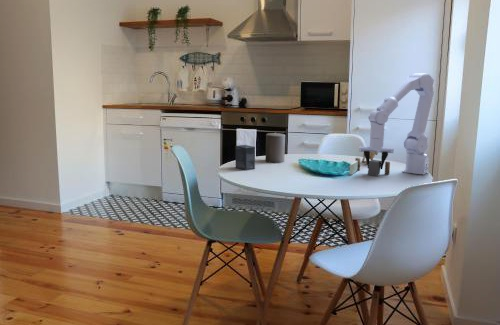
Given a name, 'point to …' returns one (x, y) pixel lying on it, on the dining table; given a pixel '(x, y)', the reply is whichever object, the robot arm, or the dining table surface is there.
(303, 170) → the dining table surface
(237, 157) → the box
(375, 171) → the block
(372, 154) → the lion figurine
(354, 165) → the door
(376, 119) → the robot arm
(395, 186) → the dining table surface
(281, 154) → the pillar candle
